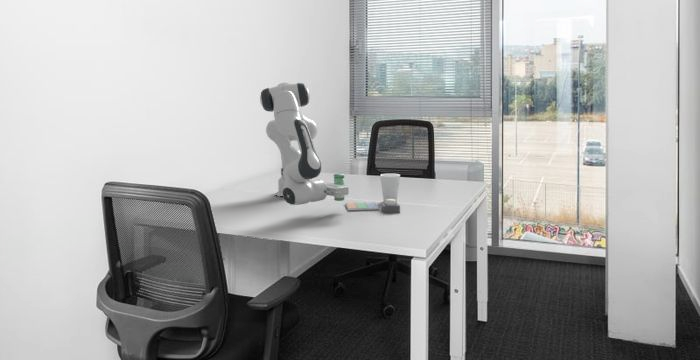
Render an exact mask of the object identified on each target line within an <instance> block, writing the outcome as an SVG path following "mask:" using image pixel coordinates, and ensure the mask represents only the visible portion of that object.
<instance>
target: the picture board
mask: <svg viewBox="0 0 700 360" xmlns="http://www.w3.org/2000/svg"><path fill="white" fill-rule="evenodd" d="M344 203H345V202H344ZM344 205H345V207H346V210H347V211H348V212H368V211H369V212H373V211H374V212H375V211H380V210H381V209H380V207H379V206H378V205H377V203H375V202H346V203H345V204H344Z"/></svg>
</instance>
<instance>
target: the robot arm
mask: <svg viewBox="0 0 700 360" xmlns="http://www.w3.org/2000/svg"><path fill="white" fill-rule="evenodd" d="M310 97H311V93H310V90H309V88H308V86H307V85H306V84H305V83H302V82H297V83H289V82H281V83H279V84H278V85H276V86H273V87H270V88H269V87H267V88H263V89H262V91H260V97H259V101H260V105H261V107H262V108H263V110H264V111H265V112H273V117H274V119H273V120H269V121H268V123H267V125H266V126H265V127H266V128H265V133H266V135H267V137H268V139H270V140H271V141H272V142H273V143H274V144H275V145H276V146H277V148H278V150H279V153H280V159H281V168H280V175H281V177H280V178H278V182H277V183H278V184H277V185H278V188H277V190H278V191H277V192H276V193H274V196H275V195H277V196H276V197H280V196H283V197H282V198H283V199H284V201H285V202H286V203H287V204H289V205H292V206H299V205H306V204H309V203H310V202H311V203H315V202H320V201H323V200H325V199H326V198H327V196H331V197H334V196H344V197H345V196H348V194H349V191H350V190H349V186H348V185H346V184H344V185H338V184H334V182H325V181H324V180H321V179H315V178H317V177H318V176H320V174H321V172H322V163H321V160H320V158H319V155H318V154H317V151H316V149H315V146H314V145H315V144H314V142H313V140H314V139H315V138H316V137H317V135H318V126H317V123H316V122H315V120H313V119H311V118H308V117H307V116H306V115H304V113H303V112H302V111H301V108H302V107H305V106H307V105H308V104H309V102H310ZM300 107H301V108H300ZM292 142H297V144H298V145H297V146H298V147H296V146H294V145H293V144H292ZM313 179H314V180H313Z"/></svg>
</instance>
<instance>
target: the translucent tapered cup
mask: <svg viewBox="0 0 700 360" xmlns="http://www.w3.org/2000/svg"><path fill="white" fill-rule="evenodd" d="M379 177H380V178H379V179H380V183H381V184H380V185H381V193H382V200H383V203H386V199H395V200H396V203H398V197H399V196H398V195H399V189H400V181H401V174H399V173H381V174H380V176H379Z"/></svg>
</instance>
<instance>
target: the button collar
mask: <svg viewBox="0 0 700 360" xmlns="http://www.w3.org/2000/svg"><path fill="white" fill-rule="evenodd" d="M380 207H381V209H380V210H381V212H383V214H391V213H392V214H394V213H395V214H396V213H400V212H401V206H400V204H399V203H398V202H396V205H393V206H386V205H385V202H382V203H381V206H380Z"/></svg>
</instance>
